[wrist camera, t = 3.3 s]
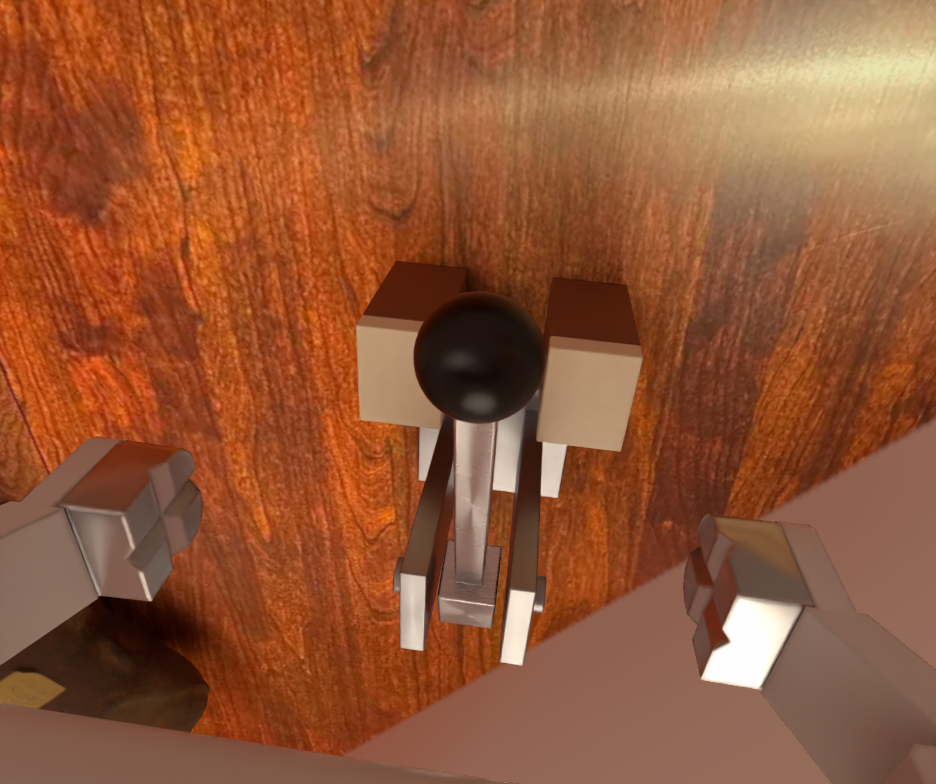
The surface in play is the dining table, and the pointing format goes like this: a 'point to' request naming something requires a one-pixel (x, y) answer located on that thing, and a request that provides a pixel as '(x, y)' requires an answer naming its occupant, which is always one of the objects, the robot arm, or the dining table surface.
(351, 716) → the dining table surface
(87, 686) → the dark brown bag
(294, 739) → the dining table surface
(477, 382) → the black ball knob lever
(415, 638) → the bracket
